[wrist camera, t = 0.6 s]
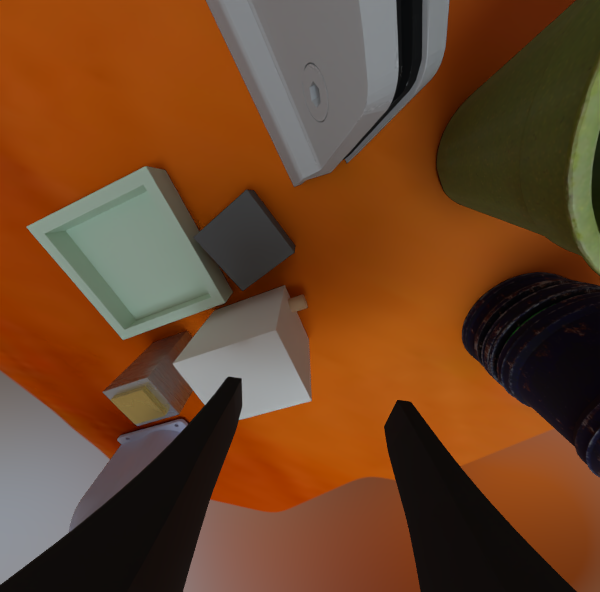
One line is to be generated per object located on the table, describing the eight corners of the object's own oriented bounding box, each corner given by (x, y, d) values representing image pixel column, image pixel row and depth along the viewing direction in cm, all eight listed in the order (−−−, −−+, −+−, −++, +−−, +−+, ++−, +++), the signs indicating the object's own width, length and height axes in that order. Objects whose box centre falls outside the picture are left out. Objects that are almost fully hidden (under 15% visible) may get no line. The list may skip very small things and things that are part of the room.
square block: (249, 279, 19) (242, 291, 17) (207, 232, 17) (193, 237, 15) (295, 245, 18) (294, 252, 16) (254, 190, 16) (246, 189, 14)
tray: (139, 326, 21) (123, 339, 19) (57, 223, 17) (26, 226, 15) (233, 292, 19) (225, 302, 17) (165, 169, 15) (145, 165, 13)
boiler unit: (245, 361, 22) (222, 427, 16) (214, 310, 20) (172, 363, 14) (322, 337, 21) (331, 398, 15) (298, 280, 19) (296, 322, 12)
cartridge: (176, 371, 23) (133, 431, 17) (153, 342, 22) (97, 396, 16) (209, 361, 22) (176, 419, 17) (187, 330, 21) (143, 381, 15)
